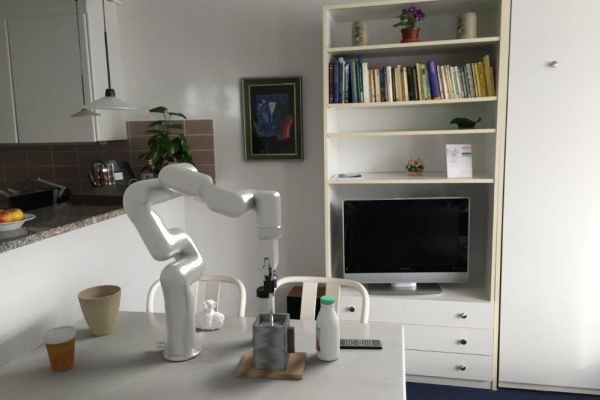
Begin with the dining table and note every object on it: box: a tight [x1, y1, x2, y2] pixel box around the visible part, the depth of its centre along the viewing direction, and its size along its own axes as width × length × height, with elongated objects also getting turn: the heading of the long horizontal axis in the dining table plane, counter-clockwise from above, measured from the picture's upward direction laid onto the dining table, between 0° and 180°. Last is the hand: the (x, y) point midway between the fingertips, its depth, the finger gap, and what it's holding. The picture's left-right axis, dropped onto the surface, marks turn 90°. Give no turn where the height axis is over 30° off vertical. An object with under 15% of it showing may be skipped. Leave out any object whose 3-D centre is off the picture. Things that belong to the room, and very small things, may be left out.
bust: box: [195, 299, 225, 331], centre depth 174 cm, size 12×8×11 cm
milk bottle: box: [315, 295, 341, 362], centre depth 148 cm, size 8×8×20 cm
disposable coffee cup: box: [42, 325, 78, 373], centre depth 144 cm, size 10×10×12 cm
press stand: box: [235, 312, 307, 380], centre depth 142 cm, size 20×14×16 cm
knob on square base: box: [260, 274, 285, 326], centre depth 140 cm, size 8×8×17 cm
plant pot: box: [77, 284, 122, 337], centre depth 170 cm, size 15×15×16 cm
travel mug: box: [255, 285, 276, 316], centre depth 160 cm, size 6×7×20 cm
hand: (270, 289), depth 140 cm, fingers closed on knob on square base, 4 cm apart
